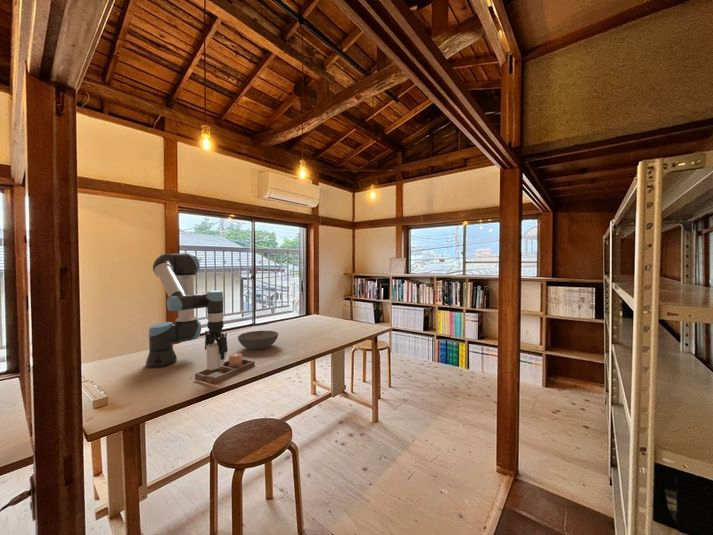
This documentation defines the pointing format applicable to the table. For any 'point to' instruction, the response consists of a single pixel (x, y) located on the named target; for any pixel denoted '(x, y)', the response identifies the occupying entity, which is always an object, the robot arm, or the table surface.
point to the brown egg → (235, 360)
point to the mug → (213, 356)
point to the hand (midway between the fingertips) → (216, 364)
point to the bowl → (257, 339)
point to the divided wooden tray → (222, 372)
